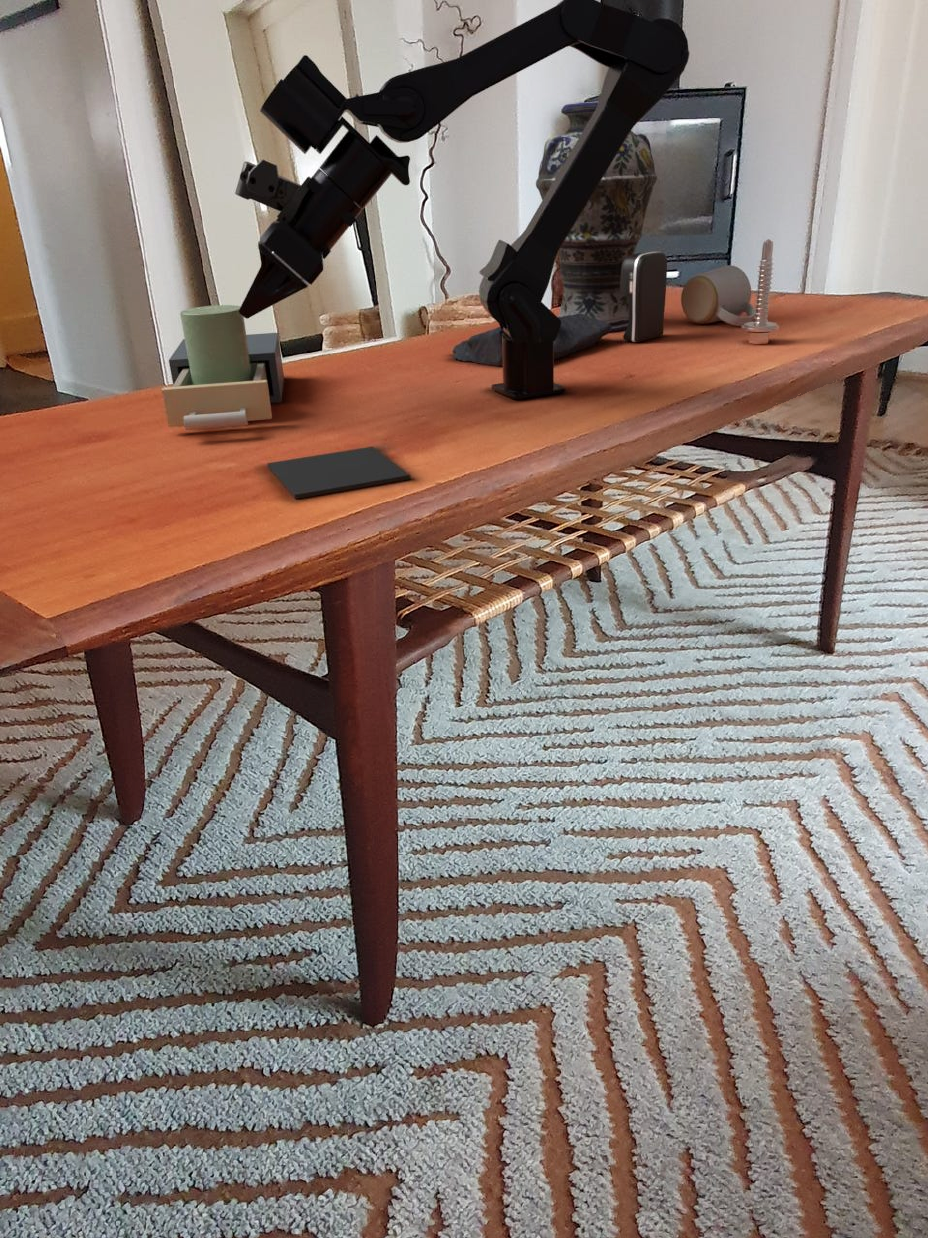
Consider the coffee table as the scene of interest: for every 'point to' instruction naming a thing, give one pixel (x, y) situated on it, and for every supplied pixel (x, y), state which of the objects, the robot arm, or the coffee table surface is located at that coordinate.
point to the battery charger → (644, 294)
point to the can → (216, 344)
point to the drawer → (217, 401)
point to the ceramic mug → (718, 297)
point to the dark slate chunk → (570, 339)
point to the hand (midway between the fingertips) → (246, 308)
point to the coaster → (336, 472)
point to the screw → (762, 300)
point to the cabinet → (259, 350)
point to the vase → (600, 222)
